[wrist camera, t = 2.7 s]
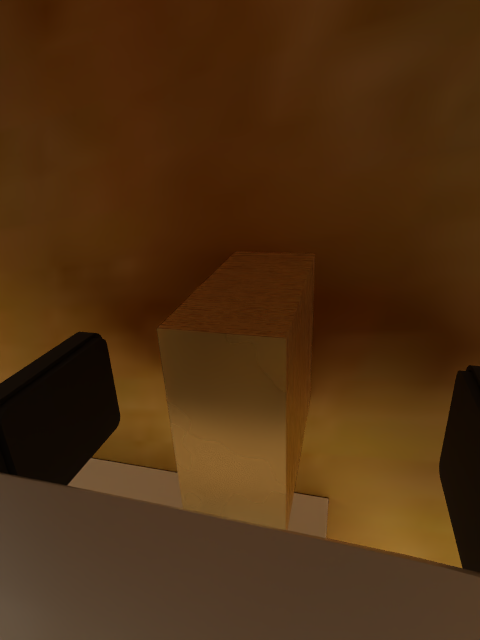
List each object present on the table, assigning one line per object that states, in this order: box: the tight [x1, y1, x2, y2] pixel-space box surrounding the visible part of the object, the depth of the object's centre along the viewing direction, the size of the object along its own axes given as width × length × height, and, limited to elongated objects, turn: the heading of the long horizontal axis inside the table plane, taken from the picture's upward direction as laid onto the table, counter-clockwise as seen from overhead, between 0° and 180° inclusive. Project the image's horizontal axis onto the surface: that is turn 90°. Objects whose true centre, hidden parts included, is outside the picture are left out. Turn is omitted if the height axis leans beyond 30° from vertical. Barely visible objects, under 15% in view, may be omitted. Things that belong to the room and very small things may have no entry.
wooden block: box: [157, 251, 315, 530], centre depth 11 cm, size 5×2×6 cm, turn 3°
